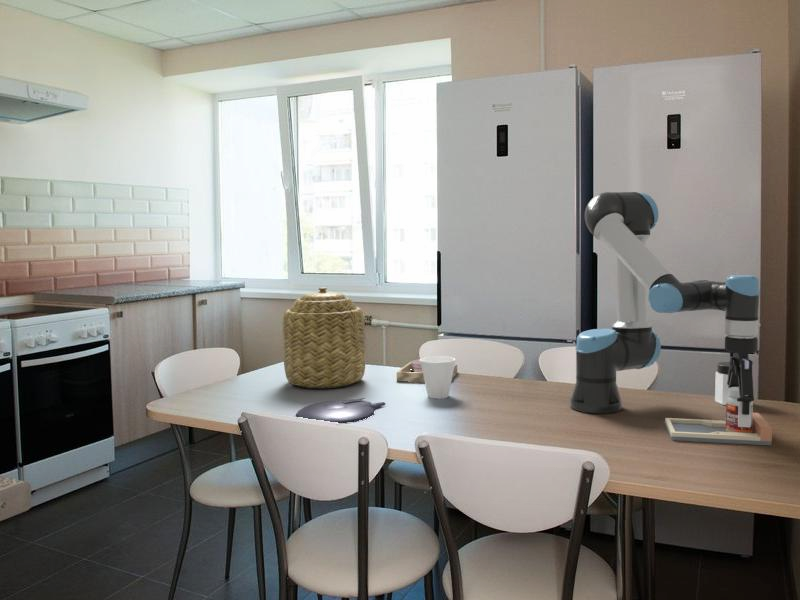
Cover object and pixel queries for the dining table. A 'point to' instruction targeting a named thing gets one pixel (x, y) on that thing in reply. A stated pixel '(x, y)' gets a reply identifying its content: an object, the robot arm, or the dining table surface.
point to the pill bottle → (735, 412)
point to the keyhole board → (718, 431)
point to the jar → (722, 383)
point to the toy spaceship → (340, 410)
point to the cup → (437, 375)
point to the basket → (324, 341)
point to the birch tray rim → (414, 374)
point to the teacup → (416, 365)
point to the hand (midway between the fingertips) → (739, 420)
